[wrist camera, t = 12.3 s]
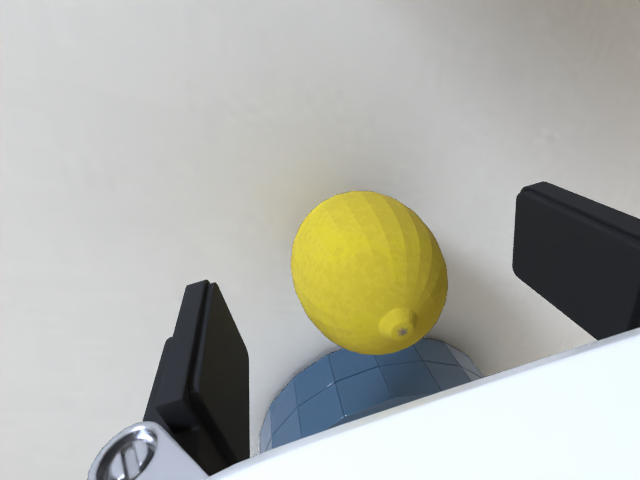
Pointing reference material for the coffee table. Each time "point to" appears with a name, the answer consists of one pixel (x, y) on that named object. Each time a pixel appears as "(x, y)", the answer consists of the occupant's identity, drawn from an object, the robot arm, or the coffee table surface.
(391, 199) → the lemon
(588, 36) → the coffee table surface
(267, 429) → the bowl
